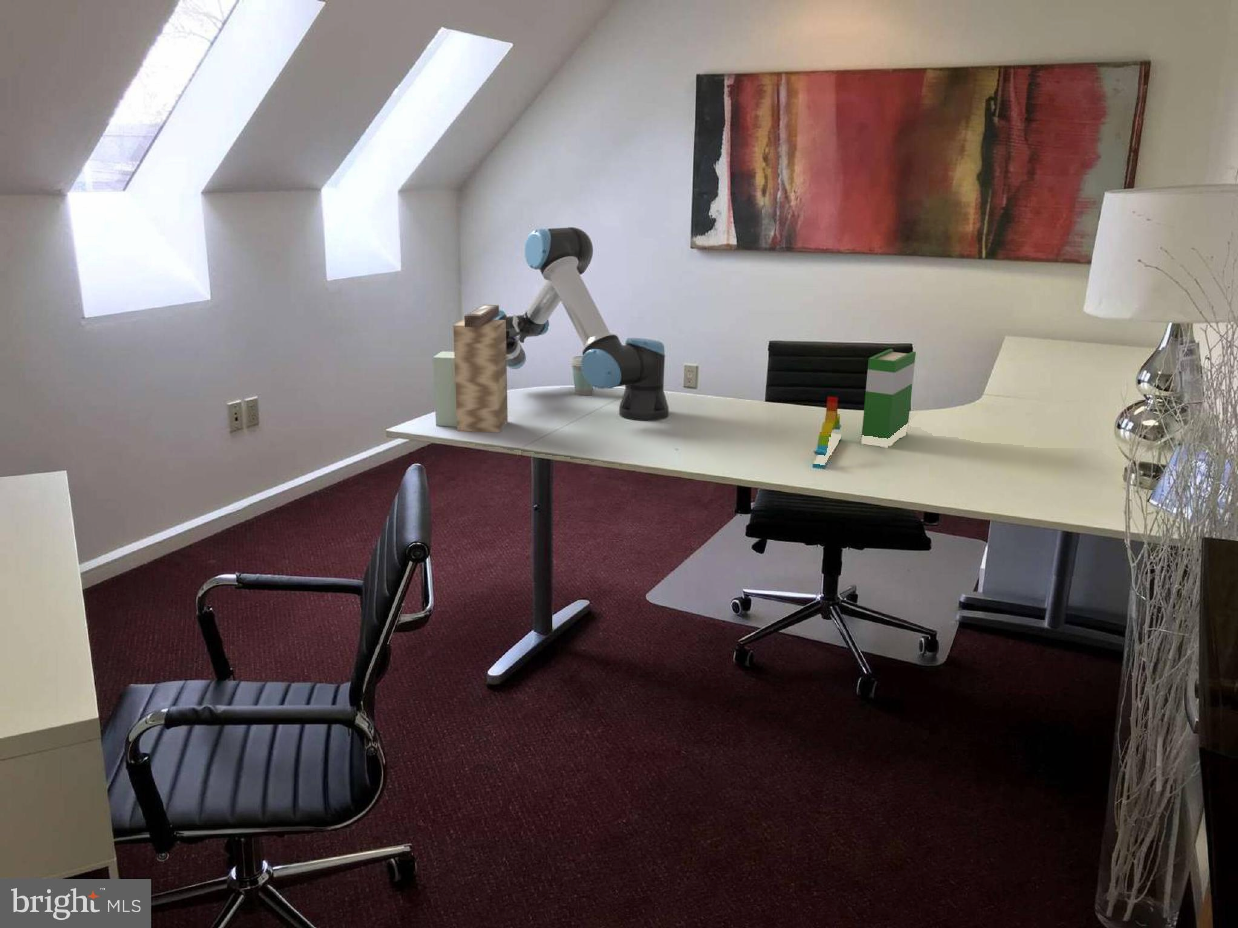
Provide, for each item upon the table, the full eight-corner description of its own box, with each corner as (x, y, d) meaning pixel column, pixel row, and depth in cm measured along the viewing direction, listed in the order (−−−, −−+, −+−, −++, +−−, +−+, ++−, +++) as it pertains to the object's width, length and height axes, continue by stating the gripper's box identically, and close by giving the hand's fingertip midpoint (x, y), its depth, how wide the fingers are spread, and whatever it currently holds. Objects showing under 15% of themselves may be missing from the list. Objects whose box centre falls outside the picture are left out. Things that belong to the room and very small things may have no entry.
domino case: (499, 315, 283) (498, 304, 282) (480, 327, 262) (480, 315, 261) (484, 315, 283) (483, 304, 282) (464, 326, 262) (464, 315, 261)
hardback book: (881, 430, 280) (889, 348, 273) (907, 434, 276) (915, 351, 269) (860, 444, 266) (868, 358, 259) (887, 448, 262) (895, 361, 255)
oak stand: (507, 421, 284) (505, 320, 275) (498, 432, 272) (496, 326, 263) (467, 420, 285) (464, 318, 276) (457, 430, 273) (453, 325, 265)
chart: (825, 470, 244) (829, 412, 239) (812, 468, 245) (816, 411, 240) (841, 440, 271) (846, 387, 266) (830, 438, 272) (834, 386, 267)
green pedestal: (467, 418, 286) (465, 352, 280) (459, 426, 278) (457, 358, 272) (444, 417, 287) (441, 351, 281) (435, 425, 278) (432, 357, 273)
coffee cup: (593, 397, 315) (593, 361, 312) (568, 395, 317) (568, 359, 313) (599, 391, 323) (599, 356, 320) (574, 390, 325) (574, 355, 321)
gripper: (544, 356, 304) (531, 331, 284) (466, 353, 307) (449, 329, 286) (546, 333, 306) (534, 308, 285) (469, 331, 308) (452, 305, 288)
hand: (491, 318), depth 286 cm, fingers open, 13 cm apart
